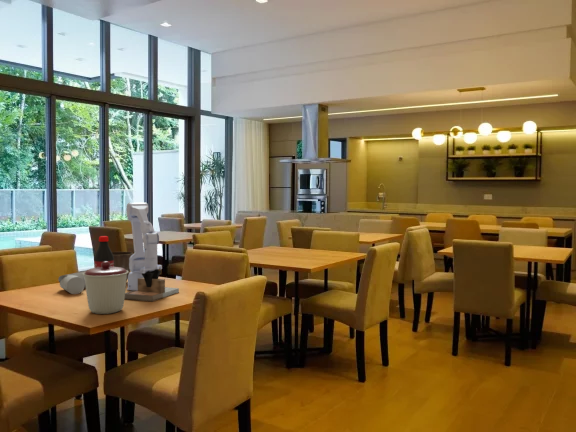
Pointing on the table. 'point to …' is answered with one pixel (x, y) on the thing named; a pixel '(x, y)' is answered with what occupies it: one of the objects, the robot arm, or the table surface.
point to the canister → (105, 288)
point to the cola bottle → (103, 253)
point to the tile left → (138, 292)
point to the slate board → (170, 291)
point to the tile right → (150, 293)
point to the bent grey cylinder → (73, 282)
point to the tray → (143, 297)
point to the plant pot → (122, 260)
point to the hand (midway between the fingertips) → (151, 286)
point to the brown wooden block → (156, 286)
